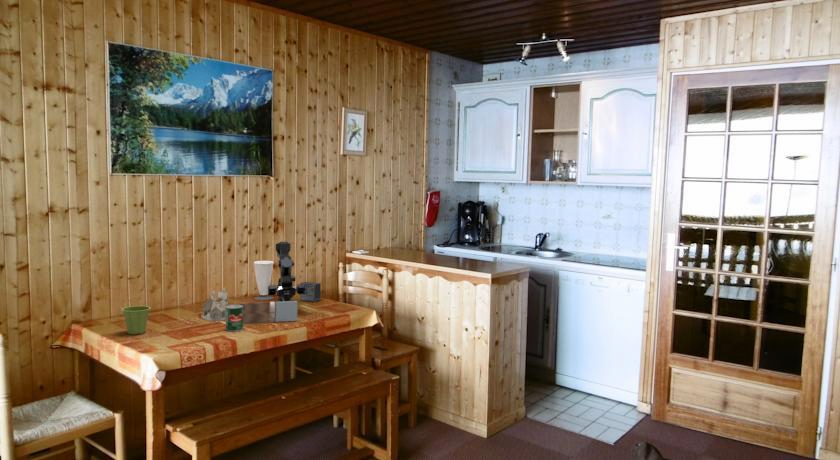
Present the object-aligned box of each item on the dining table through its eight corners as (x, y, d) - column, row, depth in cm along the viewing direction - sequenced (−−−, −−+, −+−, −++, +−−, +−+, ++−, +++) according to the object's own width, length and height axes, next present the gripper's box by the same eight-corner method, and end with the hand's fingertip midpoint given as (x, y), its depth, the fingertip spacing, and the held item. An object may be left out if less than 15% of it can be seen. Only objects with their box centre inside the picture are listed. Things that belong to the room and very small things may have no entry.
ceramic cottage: (208, 312, 312) (207, 284, 310) (237, 315, 310) (237, 287, 307) (191, 321, 297) (191, 292, 295) (222, 324, 295) (222, 295, 292)
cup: (250, 299, 348) (250, 262, 346) (259, 295, 359) (259, 260, 357) (268, 300, 346) (268, 263, 344) (277, 296, 357) (277, 261, 355)
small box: (321, 300, 349) (321, 282, 348) (314, 302, 343) (314, 284, 342) (306, 298, 353) (306, 281, 353) (299, 300, 348) (299, 282, 347)
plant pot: (149, 335, 267) (148, 310, 266) (119, 336, 264) (119, 311, 263) (152, 328, 279) (152, 304, 278) (124, 330, 275) (124, 306, 274)
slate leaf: (270, 322, 294) (269, 302, 293) (270, 321, 296) (269, 301, 295) (297, 321, 297) (297, 301, 296) (297, 319, 299) (297, 300, 298)
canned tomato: (233, 332, 275) (233, 308, 274) (221, 329, 279) (221, 306, 278) (246, 328, 281) (246, 305, 280) (235, 326, 286) (235, 303, 285)
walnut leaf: (274, 321, 297) (274, 301, 296) (275, 322, 294) (275, 302, 293) (239, 323, 292) (239, 302, 291) (239, 324, 290) (239, 303, 289)
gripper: (268, 269, 306) (268, 295, 297) (305, 268, 311) (306, 294, 302) (267, 282, 314) (268, 307, 305) (303, 281, 320) (305, 305, 310)
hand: (287, 303), depth 305 cm, fingers closed
